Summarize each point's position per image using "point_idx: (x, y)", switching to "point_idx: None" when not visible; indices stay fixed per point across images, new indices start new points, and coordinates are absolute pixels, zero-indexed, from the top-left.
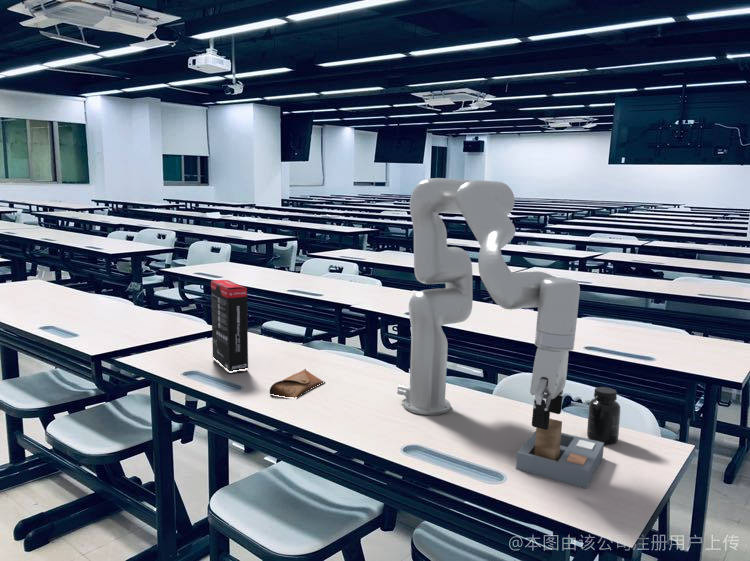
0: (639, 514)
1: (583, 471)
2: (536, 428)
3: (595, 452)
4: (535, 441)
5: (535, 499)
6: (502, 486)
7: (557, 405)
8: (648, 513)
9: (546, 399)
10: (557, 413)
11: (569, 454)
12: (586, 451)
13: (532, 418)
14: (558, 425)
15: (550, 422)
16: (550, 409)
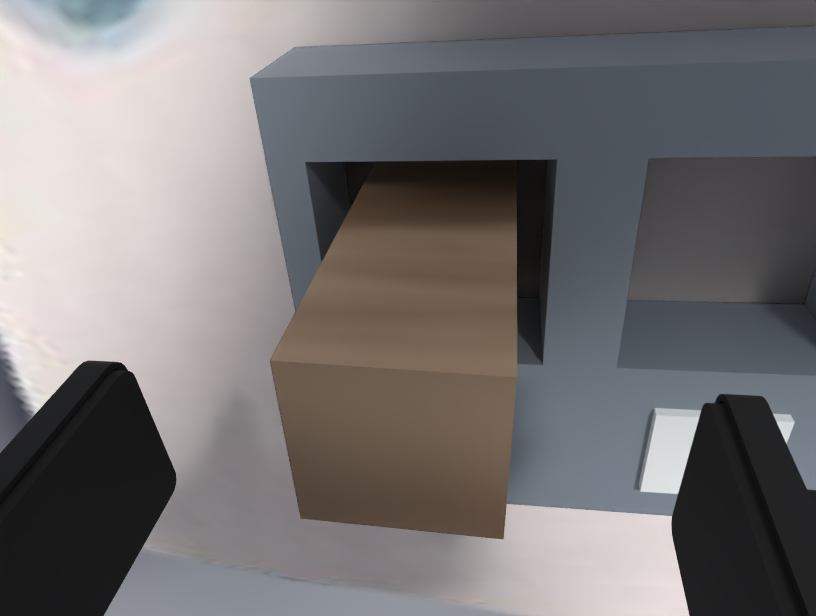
0: (296, 559)
1: None
2: (293, 318)
3: (619, 500)
4: (331, 245)
5: (68, 259)
6: (19, 64)
7: (698, 609)
8: (325, 578)
9: (784, 547)
10: (673, 512)
11: None
12: (606, 463)
13: (29, 424)
14: (365, 524)
15: (386, 465)
16: (698, 474)
